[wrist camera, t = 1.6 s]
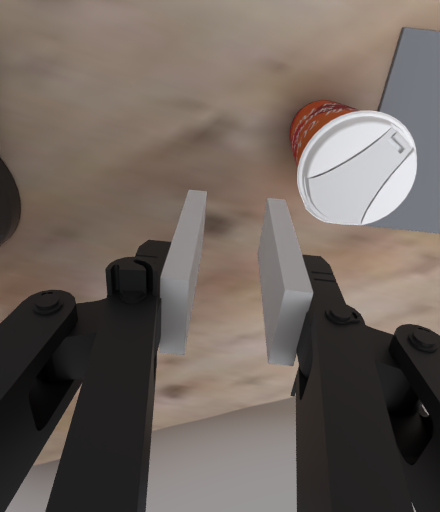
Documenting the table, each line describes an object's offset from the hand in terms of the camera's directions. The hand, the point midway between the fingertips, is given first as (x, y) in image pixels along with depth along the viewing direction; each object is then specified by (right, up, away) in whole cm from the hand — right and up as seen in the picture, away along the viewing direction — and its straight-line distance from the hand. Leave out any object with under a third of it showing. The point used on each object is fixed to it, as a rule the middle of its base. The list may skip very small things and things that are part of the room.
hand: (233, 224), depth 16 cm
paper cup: (+9, +11, +20) cm, 24 cm away
